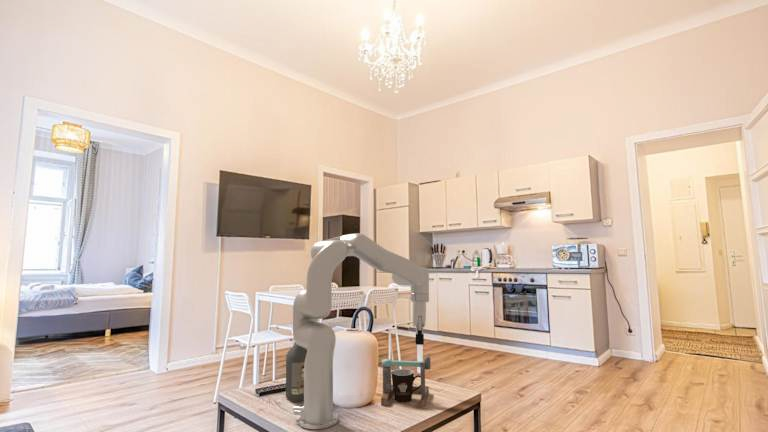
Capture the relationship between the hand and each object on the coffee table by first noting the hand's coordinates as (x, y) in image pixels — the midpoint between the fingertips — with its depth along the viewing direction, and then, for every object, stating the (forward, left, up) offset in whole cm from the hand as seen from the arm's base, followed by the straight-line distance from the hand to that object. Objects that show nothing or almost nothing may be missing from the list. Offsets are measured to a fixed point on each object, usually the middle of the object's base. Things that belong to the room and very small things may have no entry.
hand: (419, 344), depth 159 cm
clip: (-4, -10, -7) cm, 13 cm away
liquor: (-45, -16, -19) cm, 51 cm away
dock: (-4, -10, -18) cm, 21 cm away
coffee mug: (-4, -11, -19) cm, 22 cm away
